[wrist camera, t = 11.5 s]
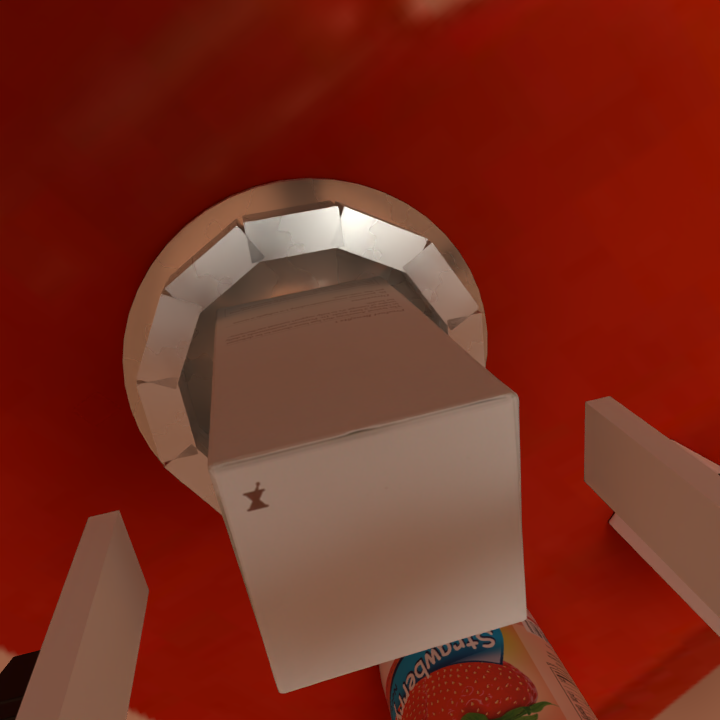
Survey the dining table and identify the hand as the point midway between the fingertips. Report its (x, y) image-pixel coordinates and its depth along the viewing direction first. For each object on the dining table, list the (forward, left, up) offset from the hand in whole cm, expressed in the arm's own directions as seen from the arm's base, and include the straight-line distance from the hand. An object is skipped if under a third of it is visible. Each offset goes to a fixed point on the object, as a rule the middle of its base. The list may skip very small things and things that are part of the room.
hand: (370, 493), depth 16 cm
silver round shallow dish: (0, 0, -11) cm, 11 cm away
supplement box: (0, 0, -11) cm, 11 cm away
